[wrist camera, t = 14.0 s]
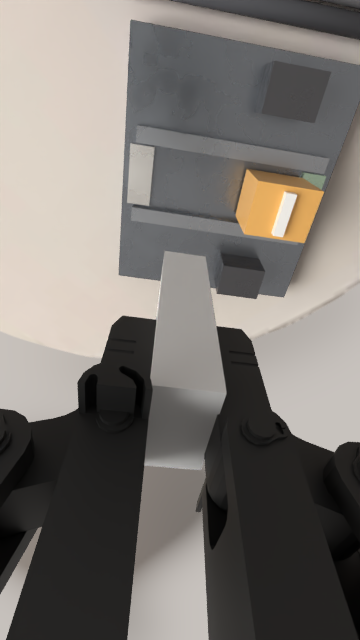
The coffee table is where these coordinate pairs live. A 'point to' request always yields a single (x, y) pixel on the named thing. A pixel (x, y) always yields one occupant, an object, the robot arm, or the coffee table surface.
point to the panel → (222, 149)
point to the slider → (277, 206)
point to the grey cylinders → (294, 13)
